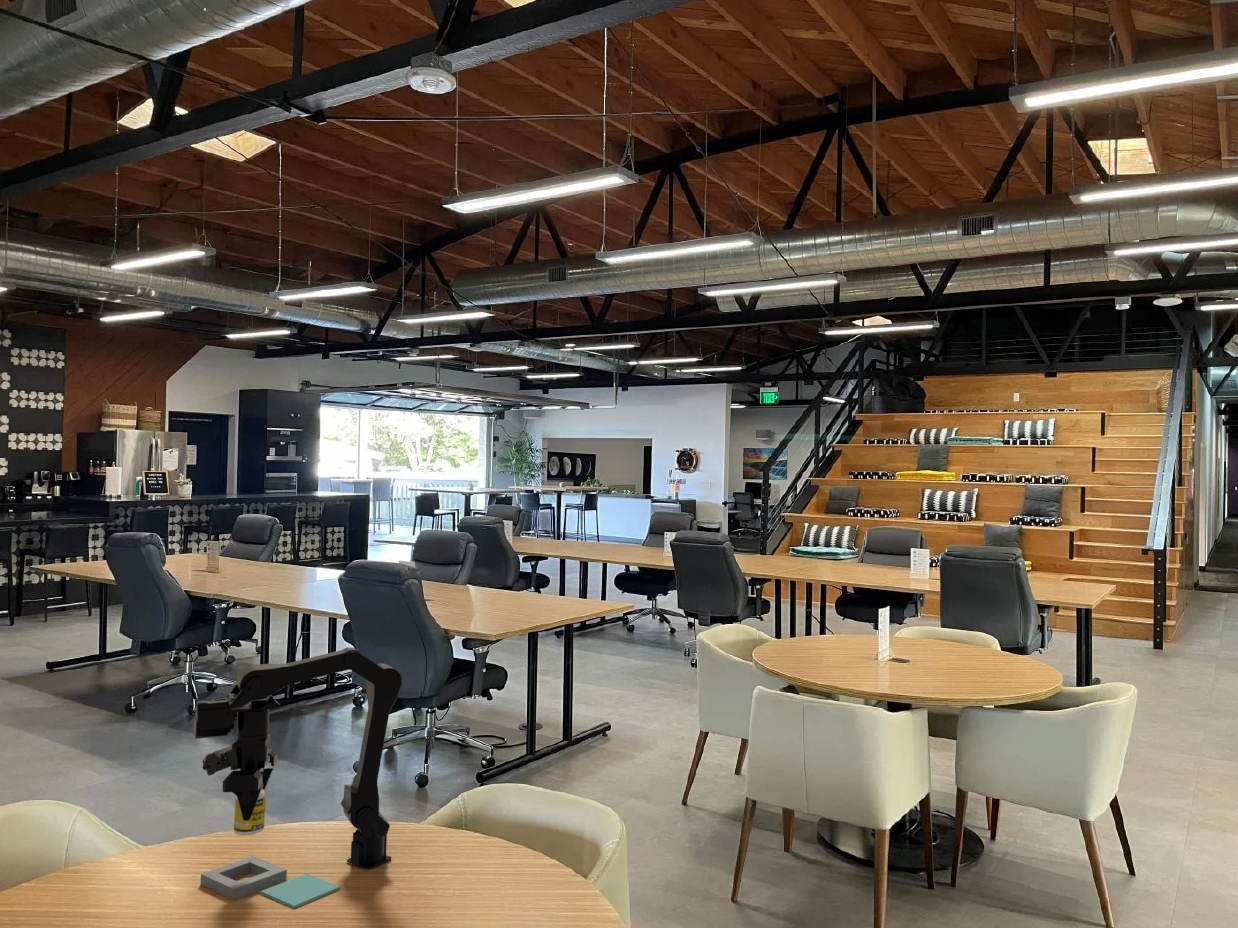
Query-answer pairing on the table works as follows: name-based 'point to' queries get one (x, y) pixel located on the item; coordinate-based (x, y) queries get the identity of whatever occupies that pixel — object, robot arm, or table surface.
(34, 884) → the table surface
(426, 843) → the table surface
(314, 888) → the mat
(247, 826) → the supplement bottle
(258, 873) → the socket block
